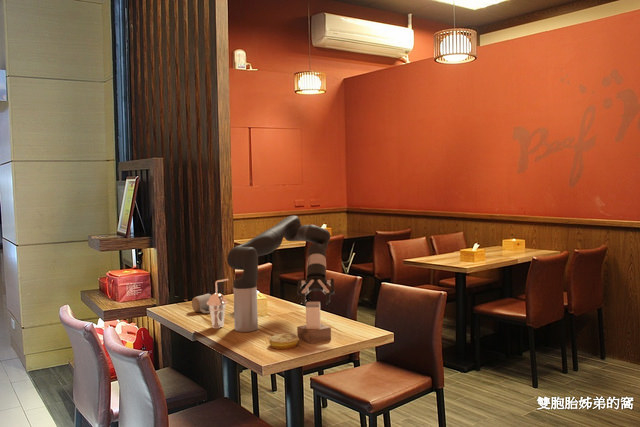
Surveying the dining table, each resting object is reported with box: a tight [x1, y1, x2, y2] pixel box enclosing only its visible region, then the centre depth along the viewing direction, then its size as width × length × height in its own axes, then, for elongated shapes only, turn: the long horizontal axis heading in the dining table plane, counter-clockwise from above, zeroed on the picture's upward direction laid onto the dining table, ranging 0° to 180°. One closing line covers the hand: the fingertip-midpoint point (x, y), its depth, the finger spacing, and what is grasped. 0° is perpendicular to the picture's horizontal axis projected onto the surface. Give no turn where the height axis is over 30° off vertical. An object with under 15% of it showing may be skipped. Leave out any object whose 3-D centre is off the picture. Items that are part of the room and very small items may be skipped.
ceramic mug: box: [191, 293, 212, 314], centre depth 264 cm, size 11×8×8 cm
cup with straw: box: [207, 278, 230, 329], centre depth 236 cm, size 8×9×20 cm
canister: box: [305, 301, 322, 329], centre depth 215 cm, size 5×5×9 cm
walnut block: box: [296, 323, 332, 344], centre depth 215 cm, size 9×9×4 cm
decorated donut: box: [268, 332, 300, 350], centre depth 208 cm, size 10×11×4 cm
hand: (315, 303), depth 216 cm, fingers open, 8 cm apart
